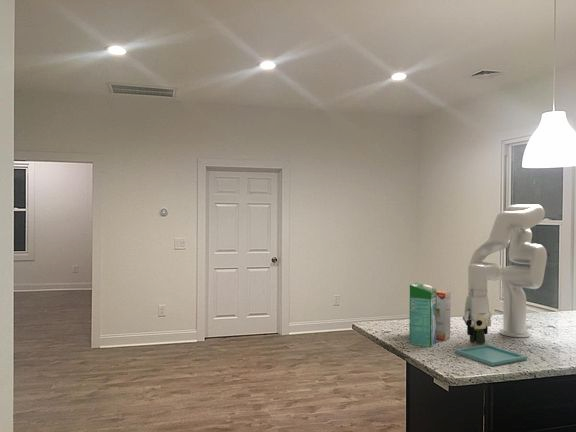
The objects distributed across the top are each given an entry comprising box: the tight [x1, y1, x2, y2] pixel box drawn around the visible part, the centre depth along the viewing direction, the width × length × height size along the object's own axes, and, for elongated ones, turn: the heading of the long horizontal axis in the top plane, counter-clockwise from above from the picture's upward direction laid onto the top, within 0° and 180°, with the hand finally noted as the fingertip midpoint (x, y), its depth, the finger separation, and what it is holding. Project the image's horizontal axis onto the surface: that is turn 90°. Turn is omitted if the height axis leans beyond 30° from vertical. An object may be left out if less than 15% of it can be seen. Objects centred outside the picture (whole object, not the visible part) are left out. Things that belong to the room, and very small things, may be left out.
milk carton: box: [408, 282, 437, 348], centre depth 197 cm, size 9×9×25 cm
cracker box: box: [436, 290, 451, 341], centre depth 207 cm, size 14×6×21 cm, turn 47°
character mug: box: [469, 314, 492, 345], centre depth 197 cm, size 11×7×13 cm, turn 51°
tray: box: [454, 343, 528, 367], centre depth 178 cm, size 18×18×2 cm
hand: (477, 334), depth 197 cm, fingers closed on character mug, 7 cm apart
